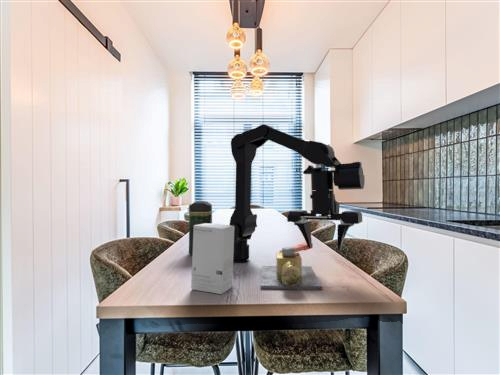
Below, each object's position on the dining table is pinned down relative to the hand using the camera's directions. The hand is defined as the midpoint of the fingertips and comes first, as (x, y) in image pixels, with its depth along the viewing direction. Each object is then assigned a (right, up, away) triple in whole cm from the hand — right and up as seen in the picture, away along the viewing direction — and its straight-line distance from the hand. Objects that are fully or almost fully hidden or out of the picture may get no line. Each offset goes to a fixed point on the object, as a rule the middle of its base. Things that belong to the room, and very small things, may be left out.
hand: (324, 249), depth 75 cm
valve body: (-10, -7, -2) cm, 12 cm away
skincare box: (-28, -7, -9) cm, 31 cm away
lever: (-7, -1, +1) cm, 7 cm away
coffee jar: (-37, -7, +26) cm, 46 cm away
